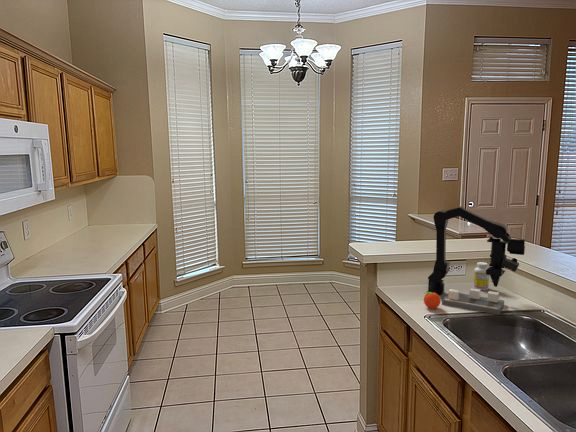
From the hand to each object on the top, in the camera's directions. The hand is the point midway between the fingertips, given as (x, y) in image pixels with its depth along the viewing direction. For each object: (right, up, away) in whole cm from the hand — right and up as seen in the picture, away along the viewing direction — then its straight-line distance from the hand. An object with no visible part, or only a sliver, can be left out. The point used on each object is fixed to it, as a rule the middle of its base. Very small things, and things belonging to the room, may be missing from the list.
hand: (495, 286), depth 193 cm
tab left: (-19, -5, -1) cm, 20 cm away
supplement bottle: (+2, -4, +20) cm, 20 cm away
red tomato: (-31, -9, -6) cm, 33 cm away
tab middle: (-10, -5, 0) cm, 11 cm away
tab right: (-4, -6, -5) cm, 8 cm away
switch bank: (-11, -8, -3) cm, 14 cm away
